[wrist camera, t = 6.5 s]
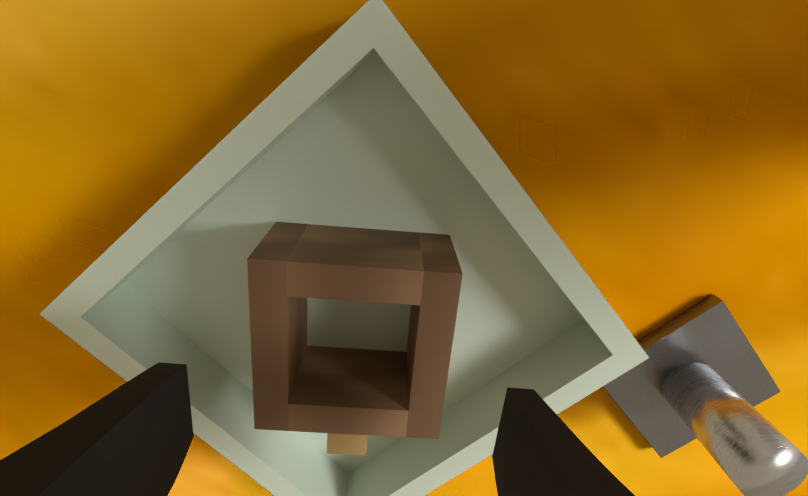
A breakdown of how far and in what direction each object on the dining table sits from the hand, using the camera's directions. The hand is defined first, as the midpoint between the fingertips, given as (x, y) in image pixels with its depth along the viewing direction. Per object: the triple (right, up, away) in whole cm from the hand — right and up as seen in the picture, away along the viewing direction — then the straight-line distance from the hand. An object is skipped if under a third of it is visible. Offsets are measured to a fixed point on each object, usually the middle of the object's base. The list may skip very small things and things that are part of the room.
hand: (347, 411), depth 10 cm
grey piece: (+12, -1, +7) cm, 14 cm away
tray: (0, +2, +6) cm, 6 cm away
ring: (0, +2, +5) cm, 5 cm away
